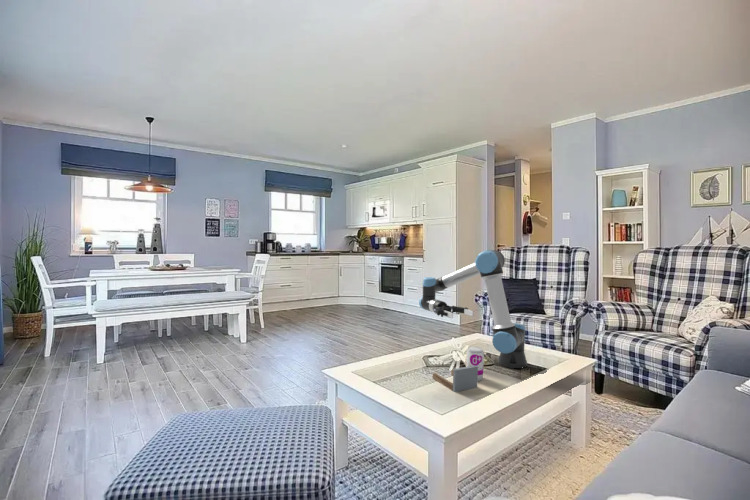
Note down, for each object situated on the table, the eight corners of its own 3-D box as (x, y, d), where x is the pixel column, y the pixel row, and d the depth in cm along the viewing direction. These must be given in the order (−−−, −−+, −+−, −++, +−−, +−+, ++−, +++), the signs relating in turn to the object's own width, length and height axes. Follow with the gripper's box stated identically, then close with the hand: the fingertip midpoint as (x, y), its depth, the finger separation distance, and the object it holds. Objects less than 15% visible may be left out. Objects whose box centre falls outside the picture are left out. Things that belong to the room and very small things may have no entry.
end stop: (475, 386, 180) (475, 365, 179) (477, 387, 179) (477, 366, 178) (452, 390, 174) (453, 369, 174) (454, 392, 173) (455, 370, 172)
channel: (453, 374, 194) (454, 369, 194) (475, 386, 180) (475, 381, 180) (432, 378, 189) (432, 373, 188) (452, 390, 174) (452, 385, 174)
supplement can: (483, 382, 185) (484, 351, 184) (466, 380, 187) (467, 350, 186) (482, 376, 193) (483, 347, 192) (465, 374, 195) (466, 345, 194)
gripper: (455, 312, 223) (480, 319, 204) (419, 315, 212) (442, 323, 193) (456, 299, 222) (481, 306, 203) (420, 301, 211) (443, 309, 192)
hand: (462, 314), depth 198 cm, fingers open, 13 cm apart
